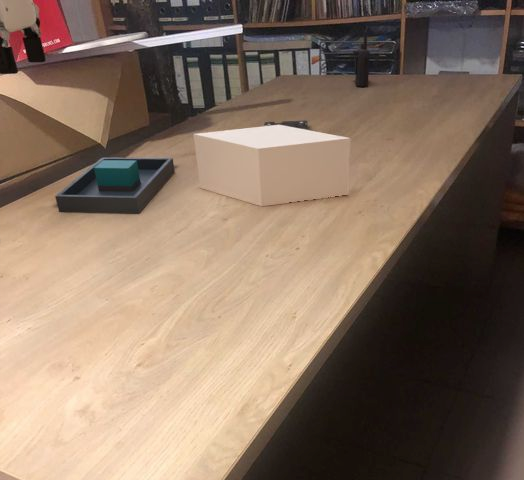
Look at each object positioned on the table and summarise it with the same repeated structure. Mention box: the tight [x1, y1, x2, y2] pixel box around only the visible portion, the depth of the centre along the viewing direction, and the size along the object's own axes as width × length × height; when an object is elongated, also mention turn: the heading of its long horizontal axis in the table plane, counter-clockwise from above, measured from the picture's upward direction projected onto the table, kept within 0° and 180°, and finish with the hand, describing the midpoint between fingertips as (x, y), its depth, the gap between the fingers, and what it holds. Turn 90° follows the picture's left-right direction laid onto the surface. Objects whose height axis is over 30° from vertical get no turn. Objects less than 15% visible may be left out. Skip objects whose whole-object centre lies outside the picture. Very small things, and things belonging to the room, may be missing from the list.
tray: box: [54, 157, 176, 215], centre depth 116 cm, size 22×16×3 cm
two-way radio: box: [352, 29, 371, 88], centre depth 174 cm, size 6×4×15 cm
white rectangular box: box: [193, 125, 351, 207], centre depth 109 cm, size 14×29×10 cm, turn 75°
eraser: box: [94, 160, 141, 191], centre depth 115 cm, size 7×4×4 cm, turn 79°
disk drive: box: [263, 120, 309, 130], centre depth 136 cm, size 10×3×15 cm
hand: (23, 67), depth 103 cm, fingers open, 9 cm apart
